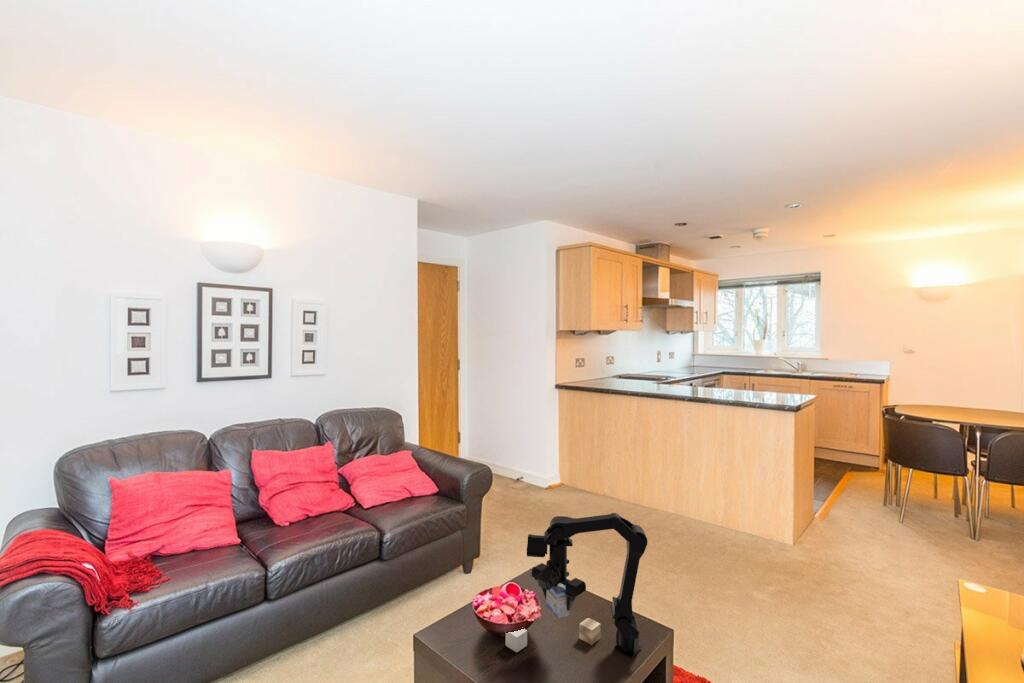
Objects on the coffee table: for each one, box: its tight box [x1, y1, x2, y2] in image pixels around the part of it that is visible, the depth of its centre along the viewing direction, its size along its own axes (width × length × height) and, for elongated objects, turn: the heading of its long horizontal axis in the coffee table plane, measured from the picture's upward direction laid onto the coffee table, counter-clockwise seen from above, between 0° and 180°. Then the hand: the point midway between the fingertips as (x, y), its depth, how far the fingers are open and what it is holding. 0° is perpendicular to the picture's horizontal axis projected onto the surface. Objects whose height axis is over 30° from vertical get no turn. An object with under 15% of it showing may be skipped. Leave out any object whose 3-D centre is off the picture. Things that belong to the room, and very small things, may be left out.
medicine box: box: [545, 583, 570, 619], centre depth 156 cm, size 8×4×9 cm, turn 25°
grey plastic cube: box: [505, 628, 528, 653], centre depth 155 cm, size 5×5×5 cm
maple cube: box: [578, 617, 602, 646], centre depth 160 cm, size 5×5×5 cm
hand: (557, 604), depth 156 cm, fingers closed on medicine box, 9 cm apart
